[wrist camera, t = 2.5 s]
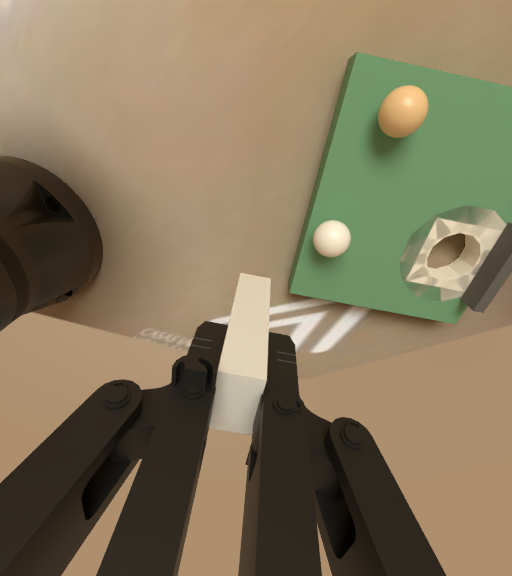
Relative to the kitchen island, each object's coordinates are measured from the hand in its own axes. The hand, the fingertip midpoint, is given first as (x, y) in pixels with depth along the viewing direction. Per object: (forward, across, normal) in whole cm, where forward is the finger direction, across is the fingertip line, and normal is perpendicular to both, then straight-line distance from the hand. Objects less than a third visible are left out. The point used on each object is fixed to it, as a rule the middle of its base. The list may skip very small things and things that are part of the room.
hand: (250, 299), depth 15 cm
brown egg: (+12, +8, +10) cm, 18 cm away
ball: (+12, +6, 0) cm, 14 cm away
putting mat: (+16, +13, +3) cm, 21 cm away
